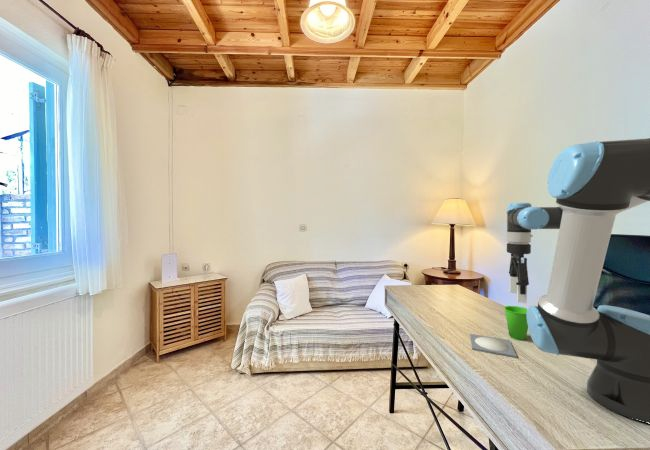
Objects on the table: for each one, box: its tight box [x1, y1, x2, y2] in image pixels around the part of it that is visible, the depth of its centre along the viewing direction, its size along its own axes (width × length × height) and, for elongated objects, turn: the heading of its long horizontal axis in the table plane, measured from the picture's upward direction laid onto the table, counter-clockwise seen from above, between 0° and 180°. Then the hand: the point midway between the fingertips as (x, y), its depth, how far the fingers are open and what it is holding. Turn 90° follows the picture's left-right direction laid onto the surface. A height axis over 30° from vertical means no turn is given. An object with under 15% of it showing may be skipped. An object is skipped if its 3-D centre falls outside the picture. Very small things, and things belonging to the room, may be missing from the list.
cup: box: [503, 305, 529, 341], centre depth 103 cm, size 9×9×11 cm
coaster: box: [469, 333, 518, 359], centre depth 97 cm, size 13×13×1 cm
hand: (517, 297), depth 103 cm, fingers open, 13 cm apart
